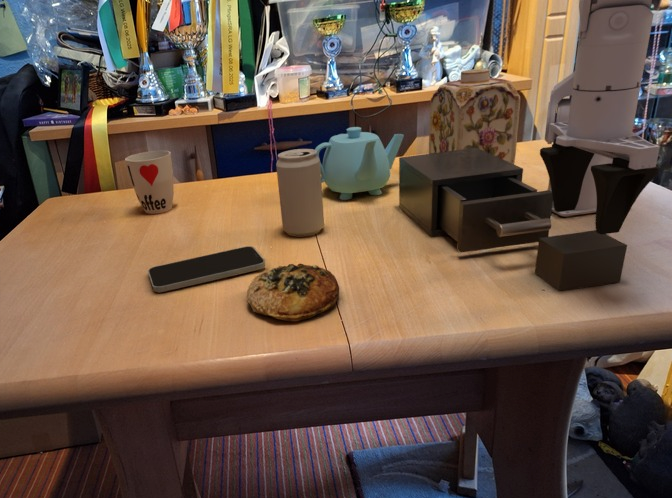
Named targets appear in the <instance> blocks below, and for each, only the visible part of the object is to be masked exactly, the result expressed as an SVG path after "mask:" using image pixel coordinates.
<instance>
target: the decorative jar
mask: <svg viewBox="0 0 672 498" xmlns="http://www.w3.org/2000/svg"><path fill="white" fill-rule="evenodd" d="M520 110H521V95H520V94H519V92H518V90H517V89H516V87H515V86H514V83H513V82H512V80H509V79H503V78H498V77H497V78H496V77H494V78H493V77H490V69H488V68H476V69H475V68H474V69H464V70H461V72H460V79H458V80H453V81H452V80H451V81H448V82H444V83H443V84H440V85H439V86H438V87H437V89H436V90H435V92H434V93H433V94H432V96H431V97H430V107H429V129H428V130H429V131H428V132H429V133H428V154H431V153H439V152H447V151H454V150H462V149H470V148H478V149H481V150H483V151H485V152H487V153H490V154H492V155H494V156H496V157H498V158H501V159H503V160H505V161H507V162H510V163H512V164H514V165H515V164H516V163H515V162H516V155H517V146H518V145H517V144H518V132H519V125H520V124H519V123H520V112H521V111H520Z"/></svg>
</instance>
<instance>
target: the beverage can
mask: <svg viewBox="0 0 672 498" xmlns="http://www.w3.org/2000/svg"><path fill="white" fill-rule="evenodd" d="M316 154H317V151H316V150H315V149H313V148H297V149H289V150H286V151H285V150H284V151H282V152H280V153H278V154H277V161H276V163H275V166H276V167H275V169H276V175H277V187H278V197H279V205H280V214H281V216H280V217H281V224H282V225H281V226H282V230H283V231H284V232H285V233H287V234H288V235H289V236H292V237H299V238H301V237H309V236H313V235H316V234H318V233H320V232H321V230H322V229H323V228H324V226H325V215H324V203H323V202H324V201H323V199H324V198H323V185H322V183H321V170H320V162H321V160H320V159H321V158H320V157H319V158H318V157H317V155H316Z"/></svg>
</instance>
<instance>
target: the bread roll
mask: <svg viewBox="0 0 672 498" xmlns="http://www.w3.org/2000/svg"><path fill="white" fill-rule="evenodd" d="M246 291H247V292H246V301H247V303H248V304H249V306H250V307H251V309H252V312H253V313H257V314H259V315H264V316H270V317H272V318H274V319H276V320H281V321H286V322H287V321H288V322H298V321H302V320H309V319H310V318H312V317H315V316H316V315H318V314H321V313H323V312H325V311H328V310H331V308H332V307H333V306H334V305H335V304H336V302H338V300H339V295H340V285H339V283H338V280H337V278H336V277H335V275H334V274H333V273H332V272H331V271H330V270H329V269H325V268H323V267H320V266H318V265H316V264H313V265H311V264H304V263H298V264H297V265H295V264H294V263H289V264H287V265H279V266H277V267H273V268H271V269H270V270H267V271H264V272H262V273H261V274H258V275H256V276H255V277H254V278H253V279H252V280H251V282H250V283H249V285H248V289H247V290H246Z"/></svg>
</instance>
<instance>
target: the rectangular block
mask: <svg viewBox="0 0 672 498" xmlns="http://www.w3.org/2000/svg"><path fill="white" fill-rule="evenodd" d="M537 243H538V244H537V253H536V258H535V259H536V260H535V268H534V274H536V275H537V276H538V277H540V278H541V279H542V280H543V281H545V282H546V283H547V284H549V285H550V286H551V287H553V288H554V289H556V290H557V291H558V292H560V291H569V290H577V289H581V288H582V289H583V288H588V287H590V288H591V287H598V286H604V285H609V284H618V283H621V280H622V275H623V268H624V264H625V258H626V253H627V248H628V244H626V243H624V242H622V241H620V240H618V239H617V238H615V237H612V236H611V235H609V234H602V235H601V234H598V233H596V229H594V230H588V231H580V232H572V233H565V234H558V235H552V236H548V237H543V238H539V242H537Z"/></svg>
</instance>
